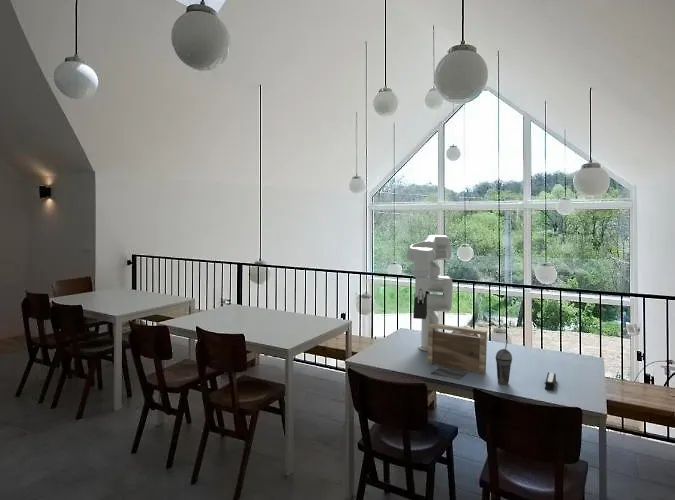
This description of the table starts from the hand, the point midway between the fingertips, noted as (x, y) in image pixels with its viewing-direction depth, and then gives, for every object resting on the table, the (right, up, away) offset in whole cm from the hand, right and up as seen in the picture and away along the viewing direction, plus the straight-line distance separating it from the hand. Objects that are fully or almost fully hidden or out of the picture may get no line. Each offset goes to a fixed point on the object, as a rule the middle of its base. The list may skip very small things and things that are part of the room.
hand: (420, 310), depth 226 cm
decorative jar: (+25, -29, +13) cm, 40 cm away
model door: (+14, -29, -3) cm, 33 cm away
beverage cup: (+34, -31, -18) cm, 50 cm away
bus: (+57, -32, -19) cm, 68 cm away
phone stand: (0, -3, 0) cm, 3 cm away
